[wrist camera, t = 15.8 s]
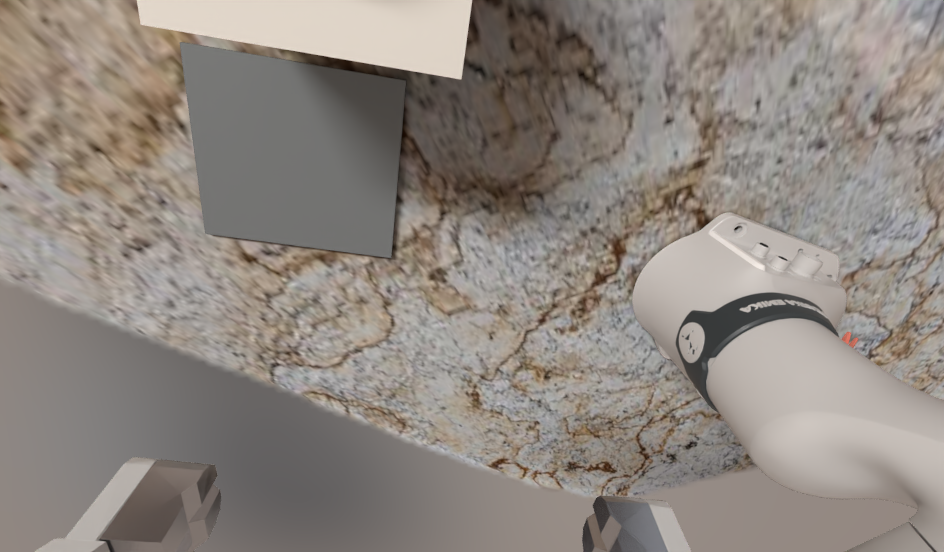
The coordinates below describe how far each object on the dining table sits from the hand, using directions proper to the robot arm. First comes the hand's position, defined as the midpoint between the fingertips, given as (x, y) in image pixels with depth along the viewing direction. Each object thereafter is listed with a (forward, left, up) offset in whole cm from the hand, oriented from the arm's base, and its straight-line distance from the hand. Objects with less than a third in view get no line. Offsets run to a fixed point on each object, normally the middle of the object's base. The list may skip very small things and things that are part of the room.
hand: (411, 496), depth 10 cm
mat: (+14, +4, -37) cm, 40 cm away
